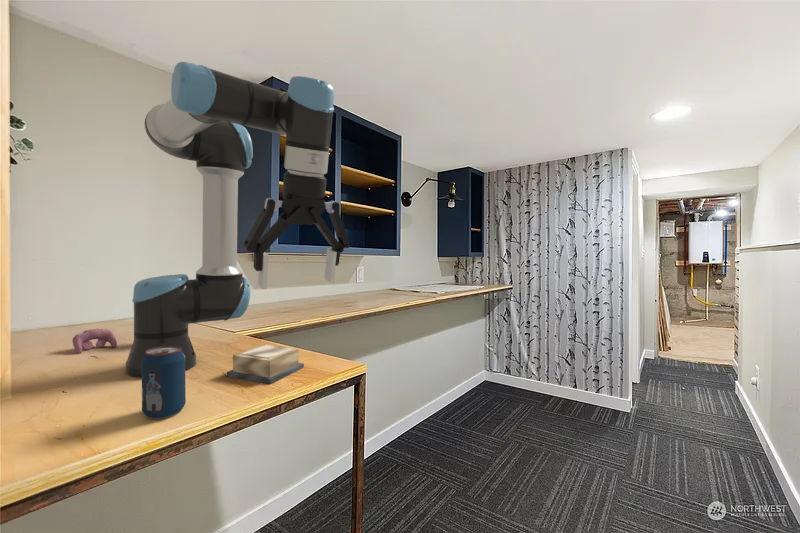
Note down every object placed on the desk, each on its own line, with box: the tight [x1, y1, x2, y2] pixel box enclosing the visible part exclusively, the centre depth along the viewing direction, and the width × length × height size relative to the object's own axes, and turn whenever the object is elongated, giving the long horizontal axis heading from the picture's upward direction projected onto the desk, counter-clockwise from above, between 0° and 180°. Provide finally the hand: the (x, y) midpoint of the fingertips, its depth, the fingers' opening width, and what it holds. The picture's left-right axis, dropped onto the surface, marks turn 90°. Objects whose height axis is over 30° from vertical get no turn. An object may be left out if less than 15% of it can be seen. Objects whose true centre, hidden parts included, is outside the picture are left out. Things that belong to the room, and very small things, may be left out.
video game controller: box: [72, 328, 118, 354], centre depth 111 cm, size 10×5×7 cm, turn 144°
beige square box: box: [226, 343, 305, 385], centre depth 94 cm, size 13×13×5 cm
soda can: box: [141, 346, 187, 420], centre depth 70 cm, size 7×7×12 cm
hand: (297, 283), depth 74 cm, fingers open, 13 cm apart
